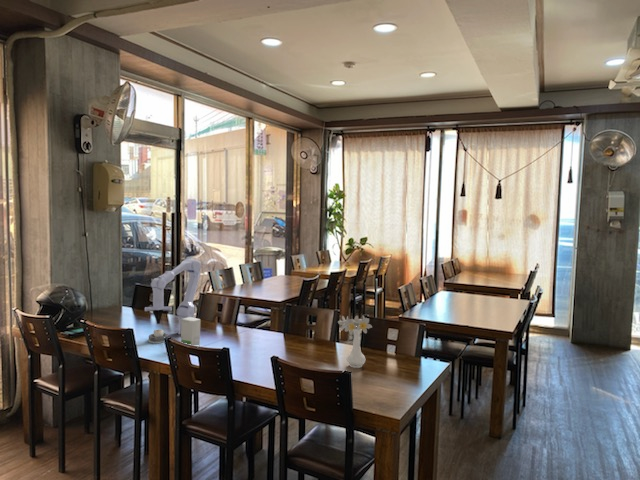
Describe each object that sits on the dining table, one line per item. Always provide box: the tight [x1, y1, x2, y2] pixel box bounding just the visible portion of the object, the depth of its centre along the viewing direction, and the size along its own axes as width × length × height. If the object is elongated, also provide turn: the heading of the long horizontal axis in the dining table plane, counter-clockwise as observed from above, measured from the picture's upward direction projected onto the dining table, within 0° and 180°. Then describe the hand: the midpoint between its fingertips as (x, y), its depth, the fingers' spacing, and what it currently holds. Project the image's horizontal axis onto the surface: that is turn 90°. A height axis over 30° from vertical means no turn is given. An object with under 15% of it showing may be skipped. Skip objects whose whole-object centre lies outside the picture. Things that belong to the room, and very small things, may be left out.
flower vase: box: [337, 315, 373, 369], centre depth 237 cm, size 13×18×25 cm
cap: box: [153, 329, 165, 337], centre depth 273 cm, size 5×5×5 cm
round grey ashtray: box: [147, 333, 169, 344], centre depth 273 cm, size 11×11×3 cm
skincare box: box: [180, 316, 201, 347], centre depth 262 cm, size 8×7×16 cm
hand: (158, 323), depth 274 cm, fingers closed
